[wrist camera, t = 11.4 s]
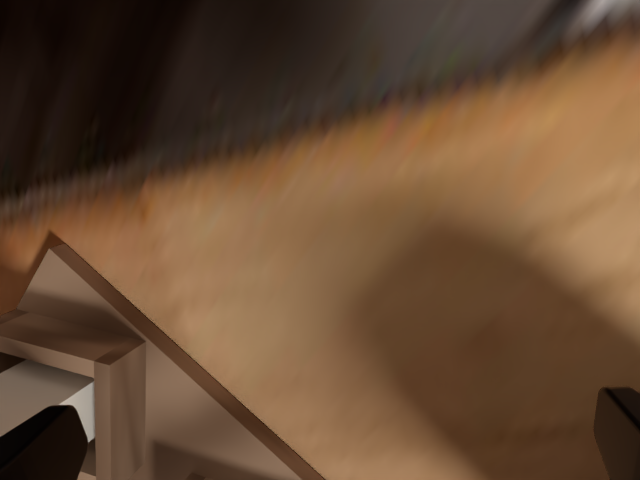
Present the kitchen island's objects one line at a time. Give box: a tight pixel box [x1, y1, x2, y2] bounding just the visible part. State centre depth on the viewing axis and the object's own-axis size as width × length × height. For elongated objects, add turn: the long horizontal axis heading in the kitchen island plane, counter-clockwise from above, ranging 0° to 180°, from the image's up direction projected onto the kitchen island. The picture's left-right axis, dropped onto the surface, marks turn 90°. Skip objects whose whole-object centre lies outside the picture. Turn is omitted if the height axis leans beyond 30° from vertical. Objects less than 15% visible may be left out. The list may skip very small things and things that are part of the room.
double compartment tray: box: [0, 244, 324, 480], centre depth 24 cm, size 22×10×4 cm, turn 52°
